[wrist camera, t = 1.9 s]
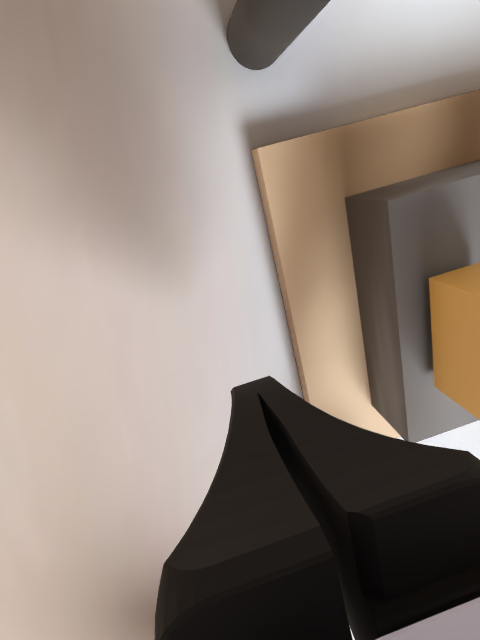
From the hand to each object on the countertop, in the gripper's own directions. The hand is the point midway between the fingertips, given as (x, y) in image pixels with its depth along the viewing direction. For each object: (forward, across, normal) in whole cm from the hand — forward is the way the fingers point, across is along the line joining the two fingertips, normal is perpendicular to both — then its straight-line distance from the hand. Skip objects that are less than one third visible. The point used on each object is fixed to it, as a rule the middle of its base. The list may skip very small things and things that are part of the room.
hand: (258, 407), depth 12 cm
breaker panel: (+5, -10, 0) cm, 12 cm away
